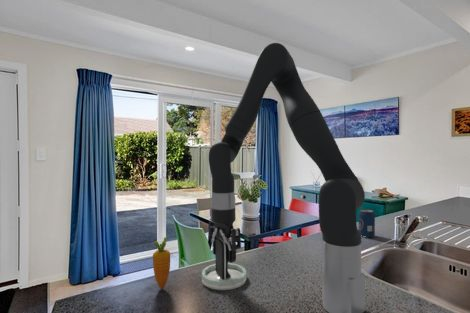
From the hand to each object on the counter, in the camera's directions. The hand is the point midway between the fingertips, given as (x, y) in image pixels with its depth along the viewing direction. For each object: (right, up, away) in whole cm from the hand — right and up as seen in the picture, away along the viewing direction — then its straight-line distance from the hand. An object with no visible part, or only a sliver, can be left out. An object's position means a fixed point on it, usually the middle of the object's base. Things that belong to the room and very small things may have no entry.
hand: (223, 257), depth 89 cm
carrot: (-18, -7, -6) cm, 20 cm away
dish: (0, -7, 0) cm, 7 cm away
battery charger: (0, -6, 0) cm, 6 cm away
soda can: (+65, -6, +44) cm, 78 cm away
